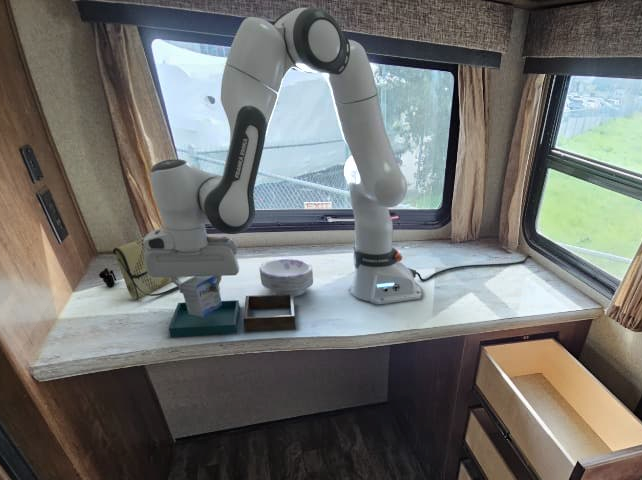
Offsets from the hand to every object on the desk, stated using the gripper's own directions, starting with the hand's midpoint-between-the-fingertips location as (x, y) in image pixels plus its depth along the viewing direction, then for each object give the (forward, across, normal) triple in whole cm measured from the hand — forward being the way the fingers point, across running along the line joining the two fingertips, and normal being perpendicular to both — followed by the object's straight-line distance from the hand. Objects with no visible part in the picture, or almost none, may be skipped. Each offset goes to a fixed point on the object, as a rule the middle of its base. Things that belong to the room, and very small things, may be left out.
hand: (200, 291), depth 109 cm
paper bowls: (+9, -21, -18) cm, 29 cm away
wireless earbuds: (+9, +29, -26) cm, 40 cm away
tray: (+9, 0, 0) cm, 9 cm away
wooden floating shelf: (+9, -16, 0) cm, 18 cm away
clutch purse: (+9, +12, -26) cm, 30 cm away
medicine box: (+6, 0, 0) cm, 6 cm away
